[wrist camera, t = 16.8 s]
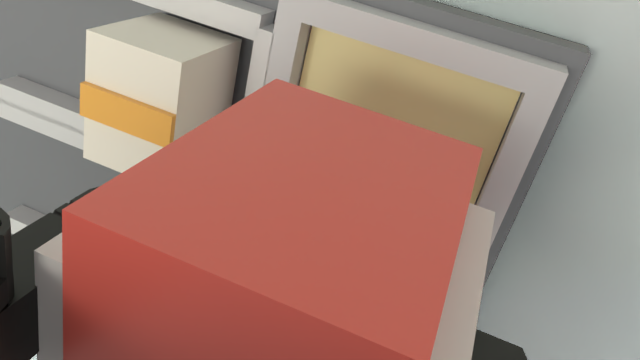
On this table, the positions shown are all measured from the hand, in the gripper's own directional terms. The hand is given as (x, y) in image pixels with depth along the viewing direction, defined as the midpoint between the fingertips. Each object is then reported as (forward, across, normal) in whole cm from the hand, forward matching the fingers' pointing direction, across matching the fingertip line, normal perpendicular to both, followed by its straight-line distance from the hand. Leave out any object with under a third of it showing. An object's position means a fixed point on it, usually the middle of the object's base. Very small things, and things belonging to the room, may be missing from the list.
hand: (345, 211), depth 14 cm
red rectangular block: (0, 0, 0) cm, 0 cm away
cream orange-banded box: (+4, -7, 0) cm, 8 cm away
